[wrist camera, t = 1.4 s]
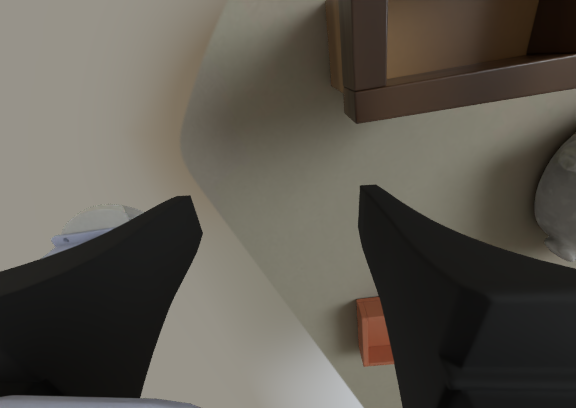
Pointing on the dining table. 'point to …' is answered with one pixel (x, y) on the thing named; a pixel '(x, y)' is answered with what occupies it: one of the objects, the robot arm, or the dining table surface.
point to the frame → (453, 81)
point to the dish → (559, 201)
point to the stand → (442, 34)
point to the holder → (373, 333)
